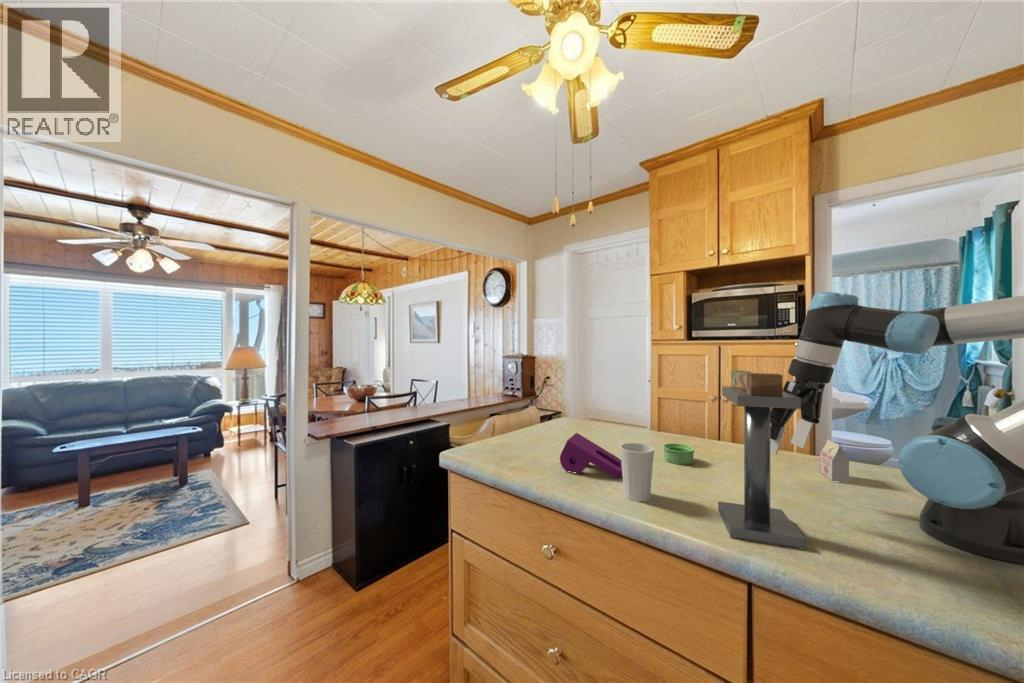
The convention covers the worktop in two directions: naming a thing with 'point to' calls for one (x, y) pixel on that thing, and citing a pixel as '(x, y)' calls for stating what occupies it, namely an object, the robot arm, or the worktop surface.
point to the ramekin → (678, 453)
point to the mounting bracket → (588, 457)
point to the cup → (637, 470)
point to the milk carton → (834, 462)
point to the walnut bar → (758, 382)
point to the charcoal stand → (758, 475)
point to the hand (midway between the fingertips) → (784, 448)
